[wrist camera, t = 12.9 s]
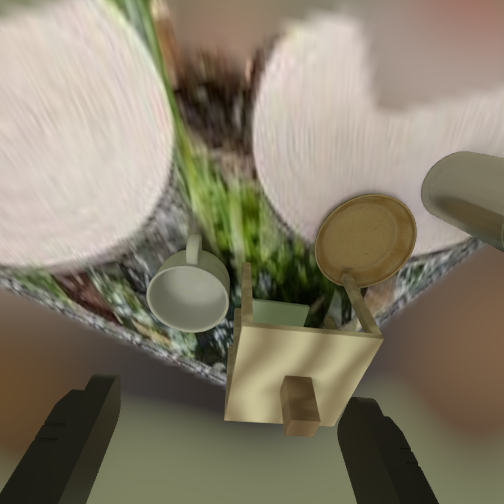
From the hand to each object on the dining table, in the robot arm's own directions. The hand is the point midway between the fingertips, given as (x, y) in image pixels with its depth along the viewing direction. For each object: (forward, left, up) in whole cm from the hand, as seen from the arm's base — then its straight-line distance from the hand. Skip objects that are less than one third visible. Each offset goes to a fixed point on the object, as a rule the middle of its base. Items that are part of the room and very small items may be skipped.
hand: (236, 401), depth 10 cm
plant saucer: (-20, +5, -34) cm, 39 cm away
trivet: (-10, +23, -33) cm, 42 cm away
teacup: (+4, +13, -33) cm, 36 cm away
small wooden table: (-11, +20, -32) cm, 39 cm away
